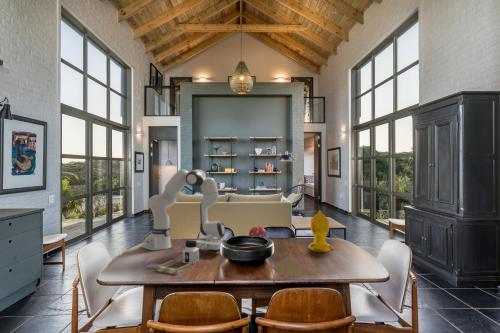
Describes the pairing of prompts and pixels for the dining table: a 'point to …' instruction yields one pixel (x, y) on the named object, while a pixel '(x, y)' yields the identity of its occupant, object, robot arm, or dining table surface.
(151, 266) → the slate tile
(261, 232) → the decorative mushroom
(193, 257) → the container
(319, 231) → the yellow statue
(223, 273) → the dining table surface
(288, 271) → the model pyramid
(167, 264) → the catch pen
